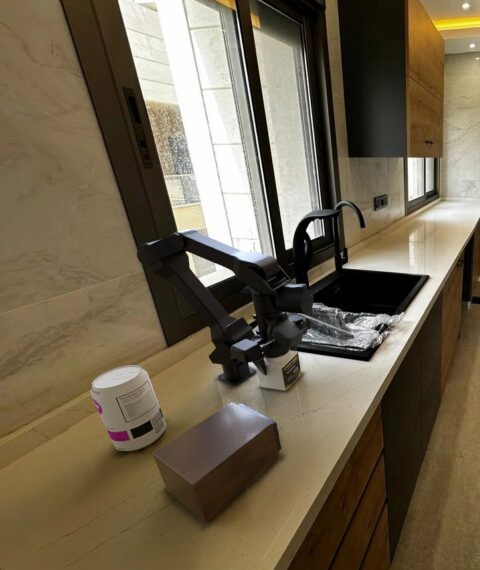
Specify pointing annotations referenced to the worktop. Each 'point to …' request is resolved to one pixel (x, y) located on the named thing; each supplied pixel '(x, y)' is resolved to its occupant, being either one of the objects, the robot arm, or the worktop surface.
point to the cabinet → (217, 459)
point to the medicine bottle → (279, 367)
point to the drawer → (267, 420)
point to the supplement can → (128, 407)
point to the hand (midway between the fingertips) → (279, 365)
